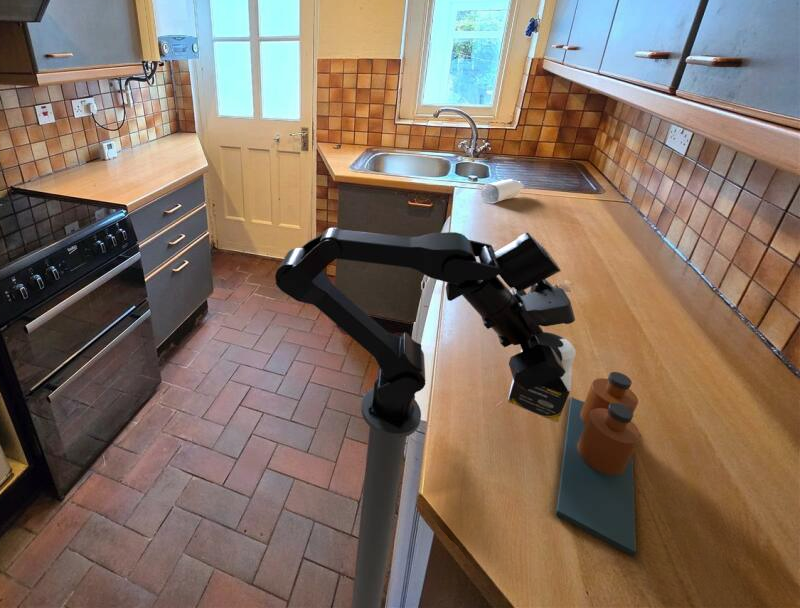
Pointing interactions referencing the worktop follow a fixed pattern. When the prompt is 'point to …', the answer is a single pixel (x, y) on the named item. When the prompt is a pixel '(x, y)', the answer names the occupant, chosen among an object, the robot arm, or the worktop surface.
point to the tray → (595, 492)
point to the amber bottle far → (609, 394)
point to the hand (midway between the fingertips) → (555, 370)
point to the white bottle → (501, 190)
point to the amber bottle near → (609, 439)
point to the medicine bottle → (543, 398)
